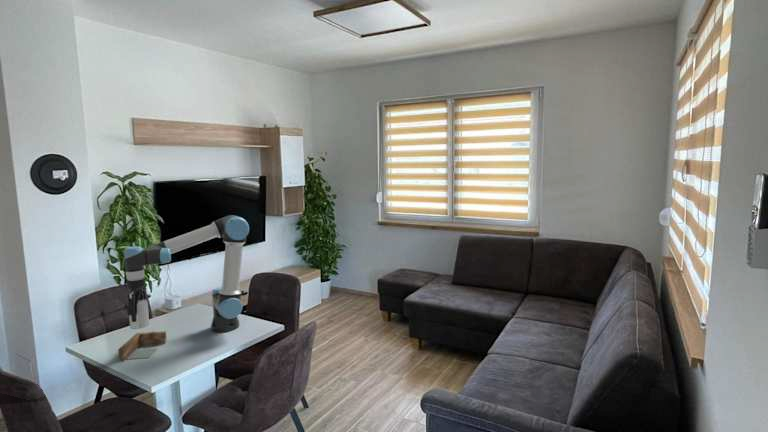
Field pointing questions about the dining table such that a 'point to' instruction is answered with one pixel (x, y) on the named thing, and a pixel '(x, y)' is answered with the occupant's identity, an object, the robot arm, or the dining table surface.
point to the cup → (141, 314)
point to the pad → (141, 354)
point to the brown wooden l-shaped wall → (141, 342)
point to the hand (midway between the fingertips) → (139, 324)
